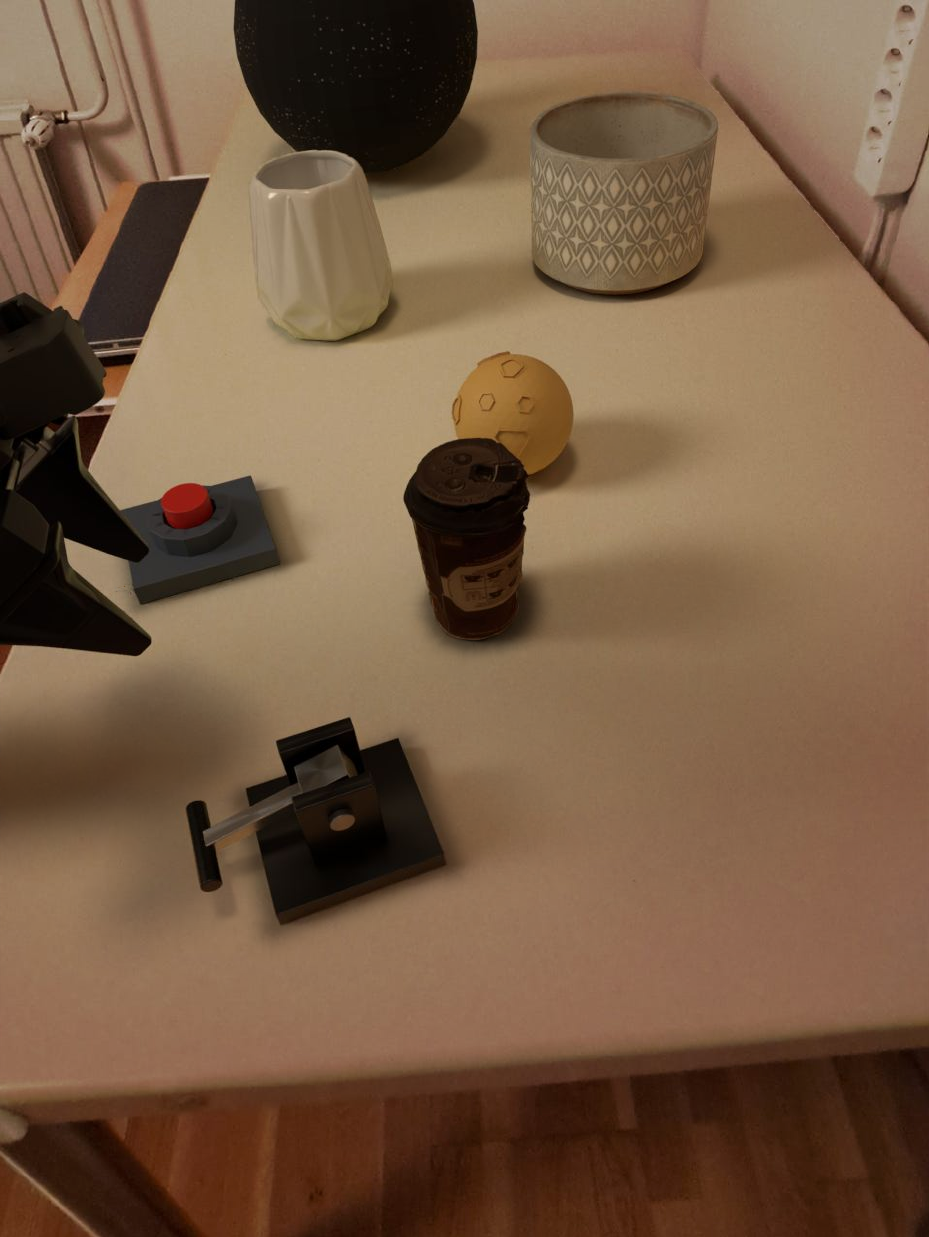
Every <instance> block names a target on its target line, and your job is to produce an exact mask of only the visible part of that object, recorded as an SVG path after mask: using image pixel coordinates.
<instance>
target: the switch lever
mask: <svg viewBox="0 0 929 1237" xmlns="http://www.w3.org/2000/svg"><path fill="white" fill-rule="evenodd" d="M294 769H295V772H296V776H297V779H298V782H297V783H295V784H294V785H292V786H290V787H288V788H286V789H284V790H282V791H280V792H278V793H276V794H274V795H272V796H270V797H268V798H266V799H264V800H262V801H261V802H259V803H257V804H255V805H253V806H251V807H250V806H248V807H247V808H245V809H243V810H241V811H239V812H237V813H235V814H233V815H232V816H230V817H228V818H225V819H224V820H222V821H220V822H218V823H216V824H214V825H212V824H211V818H210V813H209V808H208V804H207V803H206V801H204V800H201V799H196V800H193V801H191V802H188V804H187V805H186V806H185V813H186V820H187V825H188V829H189V835H190V840H191V845H192V846H191V847H192V852H193V858H194V863H195V867H196V868H195V869H196V872H197V879H198V885H199V890H200V891H202V892H203V893H213V892H215V891H218V890H219V889H221V888H222V886H223V878H222V872H221V868H220V864H219V859H218V858H219V857H218V852H220V851H222V850H224V849H226V848H227V847H230V846H232V845H234V844H236V843H237V842H240V841H242V840H243V839H245V838H247V837H249V836H251V835H253V834H256V832H257V831H259V830H261V829H263V828H265V827H267V826H269V825H271V824H272V823H274V822H276V821H278V820H280V819H282V818H284V817H286V816H288V815H290V814H292V813H294V812H295V809H294V806H293V802H292V797H294V796H297V795H299V794H302V793H305V792H308V791H311V790H314V789H317V788H320V787H323V786H326V785H329V784H332V783H335V782H338V781H341V780H344V779H347V778H350V777H353V776H356V775H358V774H357V771H356V768H355V765H354V763H353V762H352V761H351V760H350V758H349V757H348V756H347V755H346V754H345V753H344V751H343V750H342V749H341V748H340V747H339V745H335V746H333V747H331V748H330V749H328V750H326V751H324V752H322V753H320V754H318V755H316V756H314V757H312V758H310V759H308V760H306V761H304V762H302V763H300V764H298V765H297V766H295V767H294Z"/></svg>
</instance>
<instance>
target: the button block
mask: <svg viewBox="0 0 929 1237" xmlns="http://www.w3.org/2000/svg"><path fill="white" fill-rule="evenodd" d="M201 485H202V486H203V487H204V488H206V490H207V492H208V495H209V498H210V501H211V504H212V507H213V513H212V516H211V517H210V519H209V520H208V521H206V522H205V523H203V524H202V525H200V526H197V527H193V528H190V529H177V528H174V527H172V526H171V525H170V524H169V523H168V521H167V518H166V516H165V513H164V511H163V508H162V505H161V499H162V497H160V498H159V499H156V500H153V501H149V502H145V503H142V504H138V505H135V506H130V507H127V508H123V509H119V510H120V511H121V512H122V514H123V515H124V516H125V517H126V518H127V520H128V521H129V522H130V523H131V525H132V526H133V527H134V528H135V529H136V531H137V532H138V533H139V534H140V536H141V537H142V538H143V539H144V540H145V542H146V543H147V544H148V545H149V553H148V554H147V555H146V556H145V557H144V558H143V559H142V560H141V561H140V562H138V563H135V562H131V561H128V567H129V571H130V578H131V584H132V590H133V592H134V594H135V596H136V598H137V600H138V603H139V605H142V604H145V603H149V602H153V601H156V600H161V599H162V598H163V599H164V598H166V597H170V596H173V595H178V594H180V593H184V592H188V591H191V590H194V589H198V588H201V587H205V586H208V585H212V584H215V583H219V582H222V581H227V580H230V579H233V578H236V577H240V576H244V575H246V574H250V573H254V572H258V571H260V570H264V569H268V568H271V567H274V566H278V565H281V562H280V558H279V555H278V554H279V553H278V550H277V547H276V544H275V542H274V538H273V536H272V533H271V529H270V527H269V524H268V521H267V518H266V515H265V513H264V510H263V505H262V503H261V501H260V497H259V494H258V492H257V489H256V485H255V483H254V480H253V477H252V475H251V474H250V475H246V476H243V477H239V478H236V479H232V480H227V481H224V482H221V483H216V484H213V485H203V484H201Z"/></svg>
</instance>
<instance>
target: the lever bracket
mask: <svg viewBox="0 0 929 1237" xmlns="http://www.w3.org/2000/svg"><path fill="white" fill-rule="evenodd" d="M275 744H276V748H277V751H278V755H279V758H280V761H281V763H282V766H283V769H284V771H285V775H282V776H278V777H276V778H273V779H270V780H266V781H264V782H260V783H258V784H255V785H252V786H248V787H245V788H244V789H245V794H246V797H247V802H248V807H251V806H253V805H255V804H257V803H259V802H261V801H262V800H264V799H266V798H268V797H270V796H272V795H274V794H276V793H278V792H280V791H282V790H284V789H286V788H288V787H290V786H292V785H294V784H295V783H297V782H298V779H297V776H296V772H295V769H294V767H295V766H297V765H298V764H300V763H302V762H304V761H306V760H308V759H310V758H312V757H314V756H316V755H318V754H320V753H322V752H324V751H326V750H328V749H330V748H331V747H333V746H335V745H339V747H340V748H341V749H342V750H343V751H344V753H345V754H346V755H347V756H348V757H349V758H350V760H351V761H352V762H353V763H354V765H355V768H356V771H357V774H358V775H356V776H353V777H350V778H347V779H344V780H341V781H338V782H335V783H332V784H329V785H326V786H323V787H320V788H317V789H314V790H311V791H308V792H305V793H302V794H299V795H297V796H294V797H292V802H293V806H294V809H295V812H294V813H292V814H290V815H288V816H286V817H284V818H282V819H280V820H278V821H276V822H274V823H272V824H271V825H269V826H267V827H265V828H263V829H261V830H259V831H257V832H255V835H256V839H257V843H258V848H259V851H260V855H261V856H260V857H261V861H262V864H263V869H264V872H265V873H264V874H265V877H266V881H267V885H268V890H269V893H270V898H271V902H272V905H273V910H274V914H275V917H276V919H277V922H278V923H279V926H280V925H283V924H287V923H289V922H291V921H292V922H293V921H295V920H297V919H300V918H302V917H305V916H309V915H310V914H314V913H316V912H319V911H322V910H325V909H327V908H330V907H333V906H335V905H339V904H341V903H344V902H347V901H350V900H352V899H355V898H357V897H360V896H363V895H367V894H369V893H371V892H374V891H377V890H381V889H383V888H385V887H389V886H390V885H393V884H396V883H399V882H402V881H405V880H407V879H410V878H413V877H415V876H418V875H421V874H423V873H424V874H425V873H427V872H429V871H432V870H436V869H437V868H441V867H443V866H446V864H447V862H446V856H445V855H446V854H445V853H444V850H443V846H442V845H441V842H440V839H439V838H438V835H437V832H436V830H435V827H434V825H433V821H432V819H431V817H430V814H429V812H428V809H427V806H426V804H425V802H424V798H423V797H422V794H421V792H420V789H419V786H418V783H417V781H416V779H415V776H414V774H413V772H412V769H411V766H410V764H409V761H408V759H407V755H406V754H405V751H404V748H403V746H402V743H401V740H400V738H399V737H396V738H393V739H390V740H387V741H384V742H381V743H378V744H375V745H372V746H369V747H366V748H363V749H360V745H359V741H358V737H357V733H356V728H355V726H354V723H353V721H352V718H351V716H348V717H345V718H342V719H338V720H335V721H333V722H329V723H326V724H323V725H320V726H317V727H314V728H310V729H307V730H305V731H302V732H298V733H295V734H291V735H289V736H286V737H282V738H279V739H276V740H275Z"/></svg>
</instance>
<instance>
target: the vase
mask: <svg viewBox="0 0 929 1237" xmlns="http://www.w3.org/2000/svg"><path fill="white" fill-rule="evenodd" d="M248 185H249V186H248V201H249V218H250V230H251V245H252V257H253V258H252V259H253V270H254V278H255V287H256V293H257V300H258V301H259V303H260V304H261V306H262V307H263V309H264V310H265V311H266V312H267V314H268V315H270V317H271V320H272V321H273V322H274V323H275V324H276V325H277V326H278V327H280V328H281V329H283V330H285V331H287V332H288V333H289V335H291V336H292V337H294V338H296V339H299V340H311V341H330V342H331V341H332V342H333V341H335V342H336V341H339V340H342V339H344V338H345V339H346V338H348V337H350V336H353V335H355V334H358V333H360V332H363V331H365V330H368V329H371V328H372V327H373V326H374V325H375V324H376V323H377V321H378V318H379V316H380V315H381V314H382V313H383V312H384V311H385V310H386V309H387V307H388V306H389V299H390V293H391V290H392V288H393V287H392V286H393V282H394V279H393V278H394V277H393V269H392V265H391V260H390V256H389V252H388V249H387V244H386V241H385V238H384V233H383V230H382V227H381V223H380V220H379V217H378V213H377V209H376V207H375V203H374V200H373V196H372V193H371V190H370V186H369V182H368V180H367V177H366V174H364V171H363V169H362V167H361V166H360V164H359V163H358V162H357V161H356V160H355V159H353V158H352V157H349V156H348V155H347V154H344V153H340V152H337V151H330V150H322V151H318V150H309V151H302V152H297V151H295V152H288V153H286V154H284V155H279V156H276V157H274V158H271V159H269V160H266V161H265V162H264V163H262V164H261V165H260V166H258V167H257V170H255V171H254V173H253V174H252V176H251V178H250V180H249V184H248Z"/></svg>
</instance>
